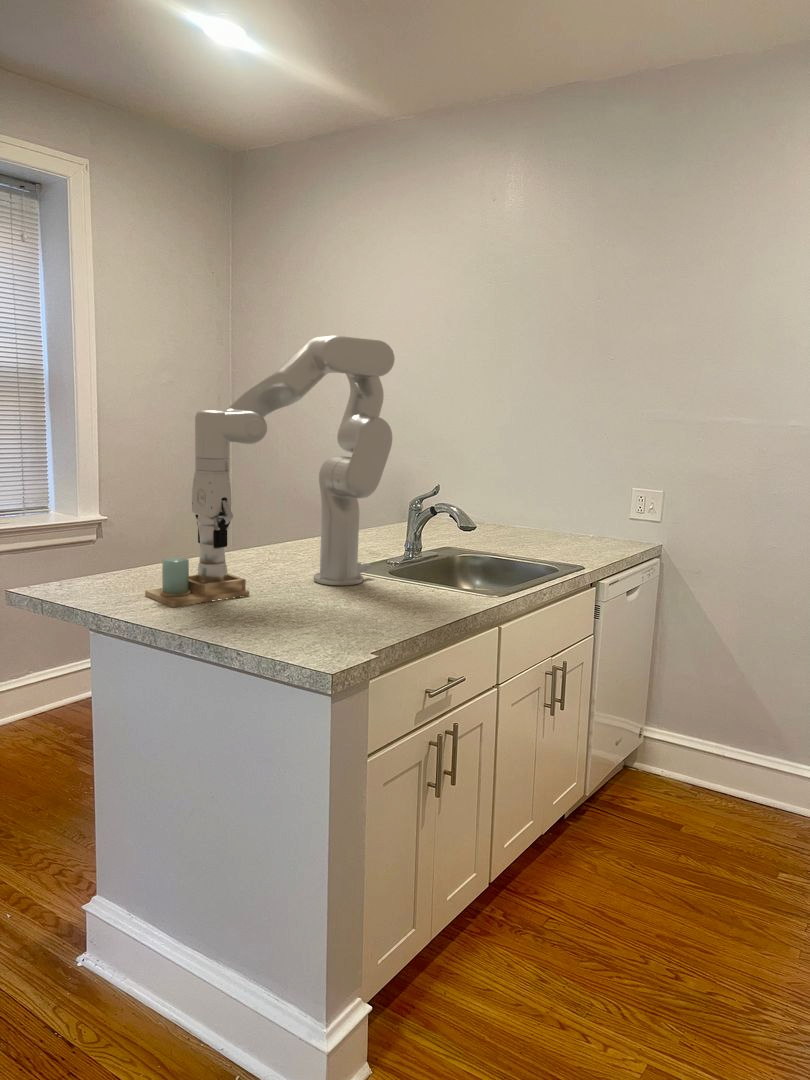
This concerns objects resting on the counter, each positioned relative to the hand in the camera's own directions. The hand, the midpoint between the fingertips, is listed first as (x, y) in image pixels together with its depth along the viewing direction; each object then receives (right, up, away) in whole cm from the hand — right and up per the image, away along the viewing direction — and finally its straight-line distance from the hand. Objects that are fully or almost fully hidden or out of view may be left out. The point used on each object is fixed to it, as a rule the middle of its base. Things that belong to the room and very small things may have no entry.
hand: (212, 544), depth 182 cm
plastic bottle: (0, -9, +1) cm, 9 cm away
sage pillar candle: (-7, -10, -5) cm, 13 cm away
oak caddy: (-3, -12, -1) cm, 12 cm away
